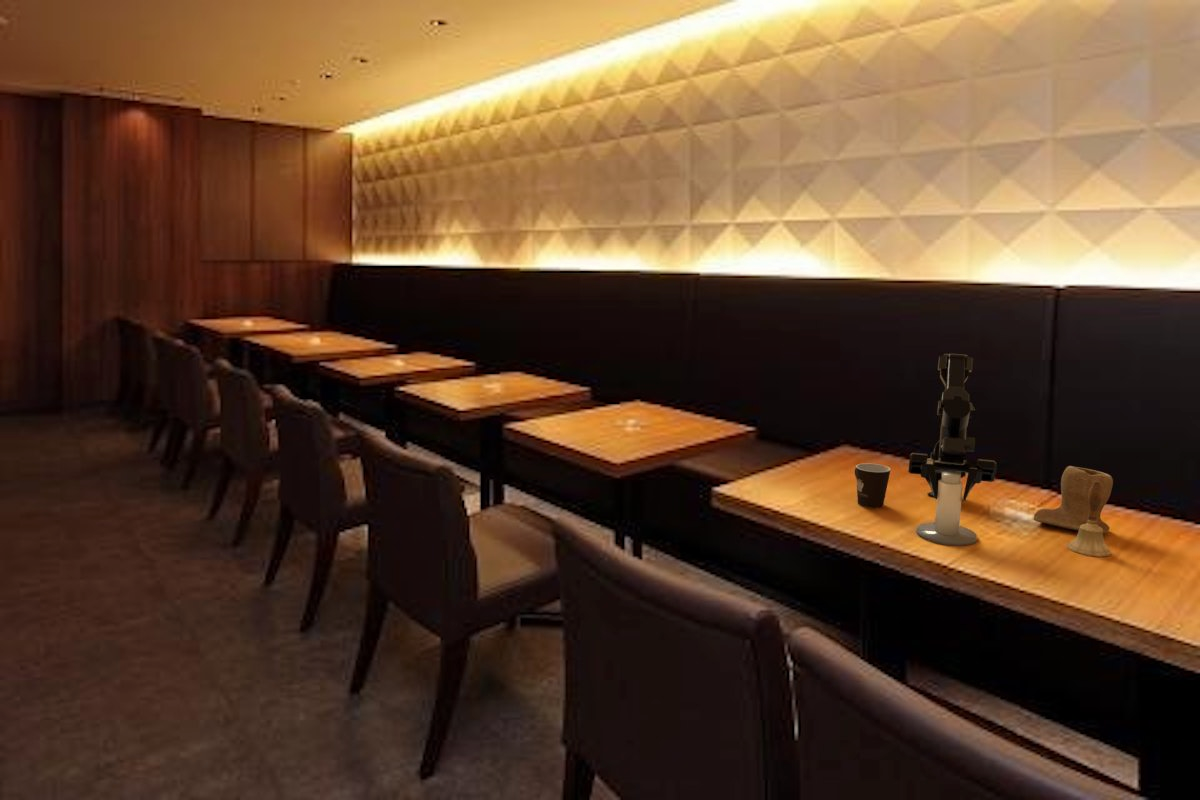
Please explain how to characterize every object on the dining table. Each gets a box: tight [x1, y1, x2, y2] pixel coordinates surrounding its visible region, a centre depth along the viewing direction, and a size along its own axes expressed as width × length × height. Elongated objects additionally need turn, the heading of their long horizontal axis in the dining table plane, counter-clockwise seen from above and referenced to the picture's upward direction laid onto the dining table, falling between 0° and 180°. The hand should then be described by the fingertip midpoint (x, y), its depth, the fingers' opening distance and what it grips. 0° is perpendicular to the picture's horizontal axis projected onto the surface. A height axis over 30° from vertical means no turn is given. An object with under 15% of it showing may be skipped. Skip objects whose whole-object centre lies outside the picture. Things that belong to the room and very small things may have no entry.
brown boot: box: [1033, 465, 1114, 535], centre depth 190 cm, size 15×12×15 cm
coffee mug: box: [854, 462, 891, 509], centre depth 208 cm, size 12×9×10 cm
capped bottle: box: [934, 472, 964, 535], centre depth 183 cm, size 5×5×14 cm
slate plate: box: [915, 521, 978, 547], centre depth 185 cm, size 13×13×1 cm
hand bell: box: [1067, 481, 1112, 558], centre depth 175 cm, size 8×8×16 cm
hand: (949, 498), depth 182 cm, fingers open, 6 cm apart
